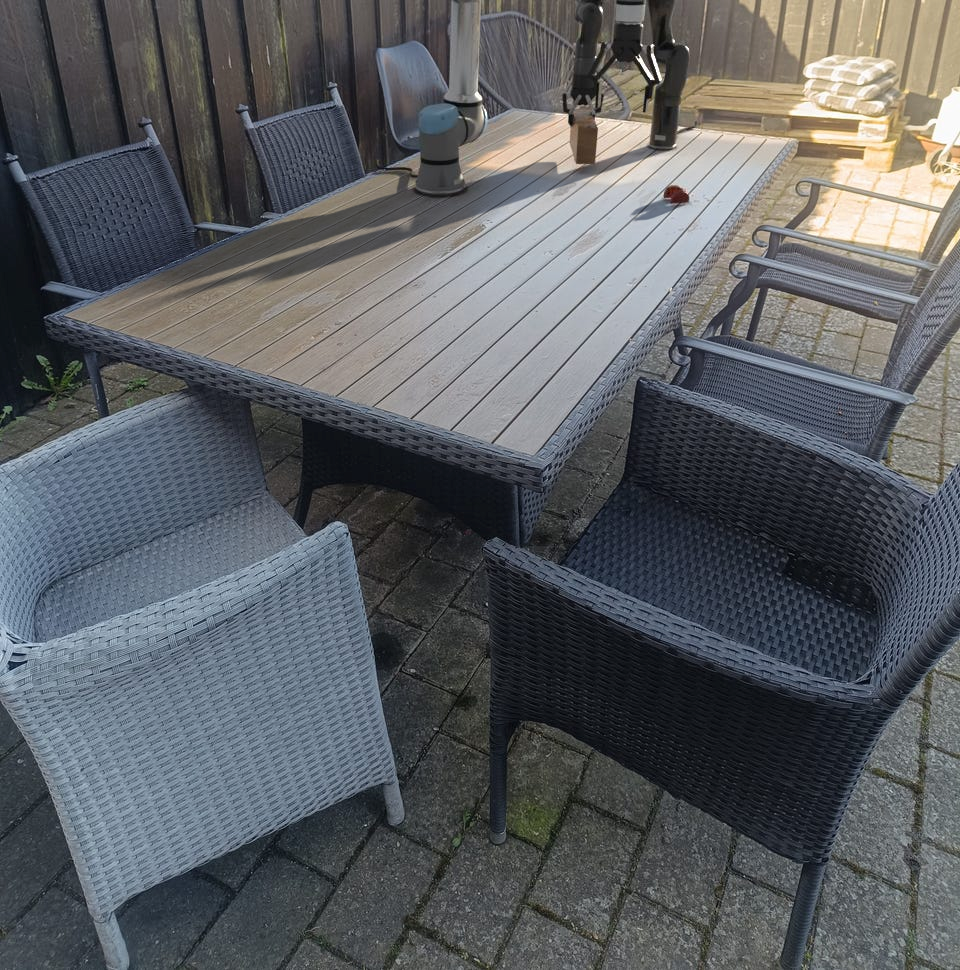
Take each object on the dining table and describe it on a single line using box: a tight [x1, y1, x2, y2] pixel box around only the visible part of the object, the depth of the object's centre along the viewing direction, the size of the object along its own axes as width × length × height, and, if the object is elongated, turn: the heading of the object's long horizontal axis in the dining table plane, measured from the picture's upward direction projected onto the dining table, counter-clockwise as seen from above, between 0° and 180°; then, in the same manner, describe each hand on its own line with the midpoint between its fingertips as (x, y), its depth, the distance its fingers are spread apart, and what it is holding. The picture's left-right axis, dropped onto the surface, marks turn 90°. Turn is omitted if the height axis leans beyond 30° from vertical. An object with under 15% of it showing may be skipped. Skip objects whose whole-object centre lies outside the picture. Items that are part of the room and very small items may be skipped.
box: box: [569, 109, 599, 165], centre depth 278 cm, size 27×6×11 cm, turn 179°
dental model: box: [663, 184, 690, 205], centre depth 248 cm, size 6×4×8 cm
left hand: (621, 109), depth 233 cm, fingers open, 13 cm apart
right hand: (580, 125), depth 285 cm, fingers closed on box, 6 cm apart
